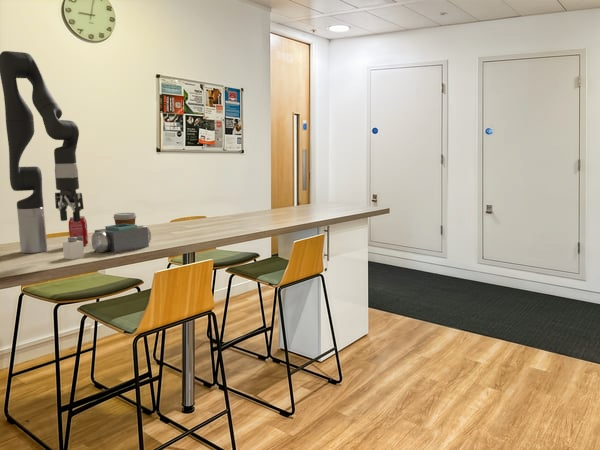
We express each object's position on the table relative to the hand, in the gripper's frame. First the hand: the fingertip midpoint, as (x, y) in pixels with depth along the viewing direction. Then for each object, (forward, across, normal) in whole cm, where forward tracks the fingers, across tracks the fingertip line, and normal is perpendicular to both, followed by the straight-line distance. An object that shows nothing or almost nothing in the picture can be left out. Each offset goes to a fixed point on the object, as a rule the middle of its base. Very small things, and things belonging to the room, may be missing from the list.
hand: (70, 221), depth 186 cm
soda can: (+13, -23, +16) cm, 31 cm away
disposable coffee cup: (+13, -15, +33) cm, 39 cm away
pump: (+14, 0, 0) cm, 14 cm away
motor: (+13, -1, +21) cm, 25 cm away
